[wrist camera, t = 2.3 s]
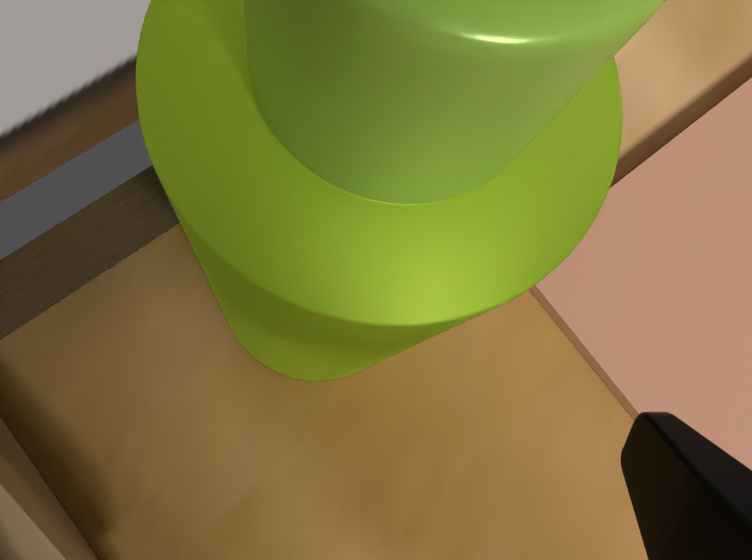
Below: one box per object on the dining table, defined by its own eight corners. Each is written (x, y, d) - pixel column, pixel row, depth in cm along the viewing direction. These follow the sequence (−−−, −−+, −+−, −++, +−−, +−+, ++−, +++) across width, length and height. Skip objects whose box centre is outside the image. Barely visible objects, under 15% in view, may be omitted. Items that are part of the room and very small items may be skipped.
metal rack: (-341, 1043, 15) (-605, 1302, 10) (-562, 650, 16) (-889, 737, 11) (548, 313, 21) (615, 285, 17) (352, 68, 22) (366, -19, 18)
